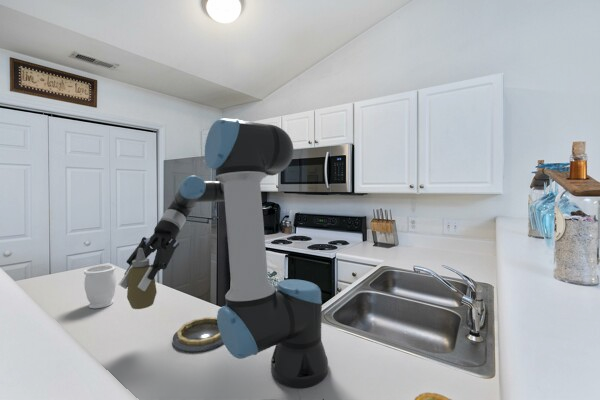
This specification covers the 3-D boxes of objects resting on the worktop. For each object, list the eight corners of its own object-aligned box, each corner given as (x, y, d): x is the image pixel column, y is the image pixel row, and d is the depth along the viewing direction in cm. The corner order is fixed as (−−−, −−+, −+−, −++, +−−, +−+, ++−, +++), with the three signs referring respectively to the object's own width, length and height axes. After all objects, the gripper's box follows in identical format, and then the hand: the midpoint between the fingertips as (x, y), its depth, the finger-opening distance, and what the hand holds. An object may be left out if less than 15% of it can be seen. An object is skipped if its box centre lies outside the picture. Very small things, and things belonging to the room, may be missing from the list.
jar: (122, 299, 120) (121, 265, 119) (103, 310, 110) (101, 272, 109) (99, 298, 121) (98, 264, 120) (78, 309, 111) (76, 272, 110)
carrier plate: (243, 331, 94) (243, 324, 94) (198, 359, 79) (197, 351, 79) (206, 317, 104) (206, 311, 104) (160, 341, 89) (160, 333, 89)
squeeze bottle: (123, 313, 83) (120, 252, 82) (132, 302, 90) (129, 246, 89) (154, 309, 85) (151, 250, 84) (159, 299, 93) (157, 244, 92)
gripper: (198, 232, 98) (165, 296, 84) (154, 230, 104) (115, 290, 89) (188, 219, 93) (150, 285, 78) (141, 218, 99) (98, 279, 84)
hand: (131, 287), depth 84 cm, fingers closed on squeeze bottle, 6 cm apart
